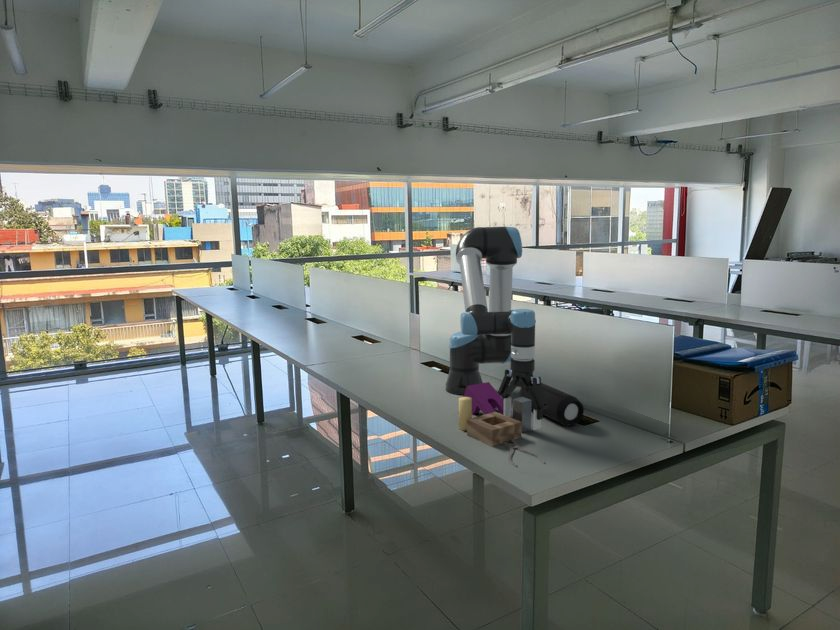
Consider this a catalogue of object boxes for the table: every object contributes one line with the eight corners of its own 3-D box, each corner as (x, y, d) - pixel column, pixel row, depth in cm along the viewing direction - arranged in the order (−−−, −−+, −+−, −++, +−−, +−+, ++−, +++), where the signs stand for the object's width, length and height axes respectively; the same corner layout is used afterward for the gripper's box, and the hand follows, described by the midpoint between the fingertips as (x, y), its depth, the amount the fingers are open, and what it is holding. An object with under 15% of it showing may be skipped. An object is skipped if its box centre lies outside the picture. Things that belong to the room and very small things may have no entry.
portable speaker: (517, 407, 206) (517, 380, 204) (540, 403, 210) (540, 377, 208) (560, 430, 183) (561, 400, 181) (585, 425, 186) (586, 396, 185)
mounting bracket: (509, 433, 196) (482, 399, 209) (516, 415, 192) (488, 381, 204) (487, 439, 192) (461, 403, 204) (494, 420, 187) (466, 385, 200)
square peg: (521, 426, 186) (522, 396, 185) (531, 429, 183) (531, 400, 181) (512, 428, 184) (512, 399, 182) (521, 432, 181) (521, 402, 179)
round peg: (466, 425, 188) (466, 396, 187) (474, 428, 185) (474, 399, 183) (456, 428, 186) (456, 398, 184) (464, 431, 182) (464, 401, 181)
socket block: (495, 426, 186) (495, 411, 186) (521, 437, 177) (521, 422, 176) (466, 434, 180) (466, 419, 179) (492, 446, 170) (492, 430, 169)
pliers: (519, 467, 154) (482, 442, 172) (519, 470, 154) (482, 444, 172) (548, 461, 158) (509, 437, 176) (548, 464, 158) (509, 439, 176)
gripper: (487, 352, 188) (487, 414, 191) (543, 368, 167) (542, 436, 171) (504, 349, 192) (504, 410, 195) (560, 364, 171) (559, 431, 175)
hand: (521, 422), depth 183 cm, fingers open, 13 cm apart
